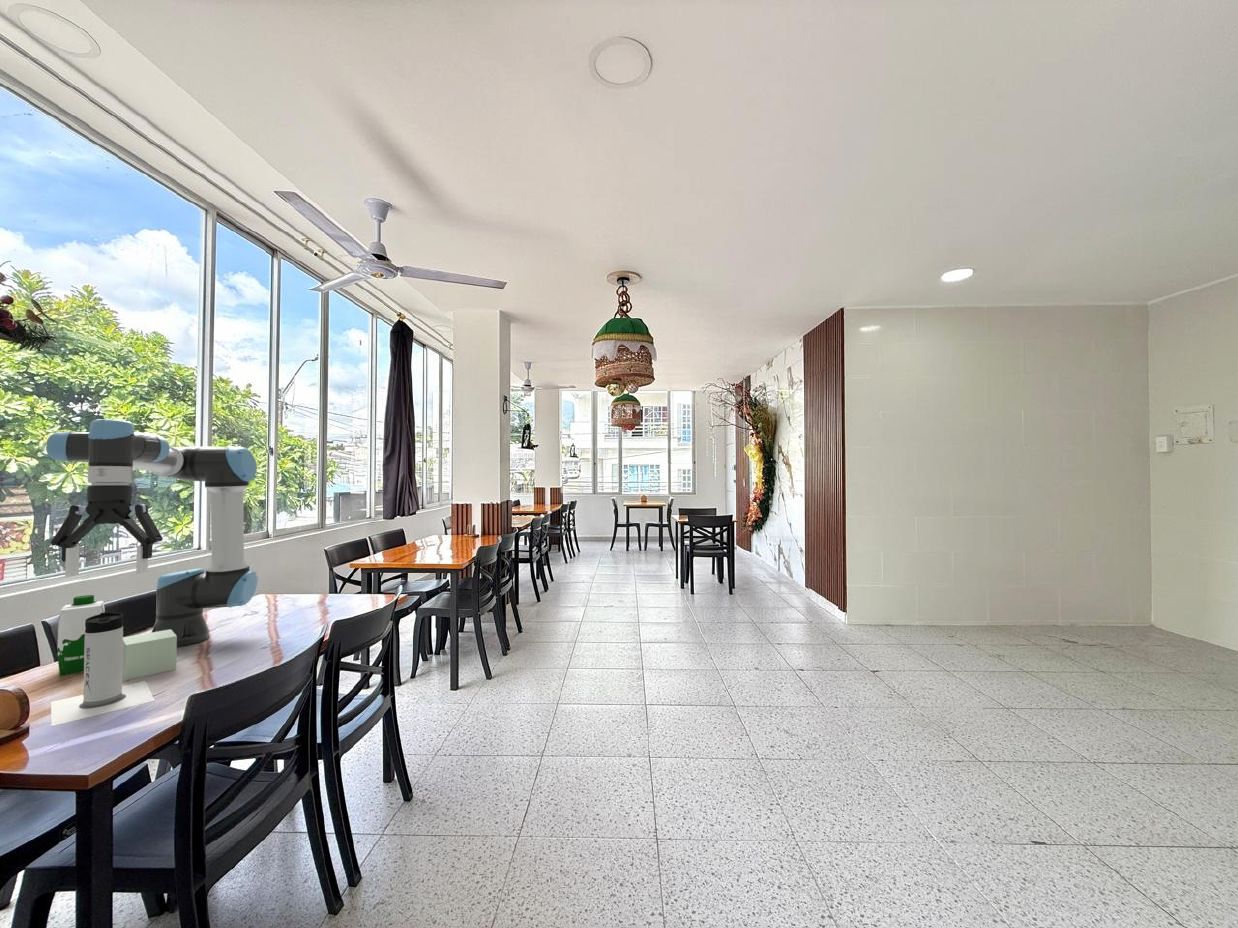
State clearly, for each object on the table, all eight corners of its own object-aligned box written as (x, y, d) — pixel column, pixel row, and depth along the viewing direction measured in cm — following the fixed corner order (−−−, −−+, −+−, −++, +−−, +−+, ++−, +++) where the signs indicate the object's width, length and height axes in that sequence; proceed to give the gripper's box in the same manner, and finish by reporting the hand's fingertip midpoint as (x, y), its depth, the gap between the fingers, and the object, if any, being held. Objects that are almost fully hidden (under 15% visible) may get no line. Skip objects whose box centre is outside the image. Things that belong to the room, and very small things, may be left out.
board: (50, 706, 116) (51, 701, 116) (145, 684, 128) (145, 680, 128) (51, 730, 104) (51, 725, 104) (154, 704, 116) (155, 699, 116)
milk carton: (104, 661, 145) (107, 592, 146) (100, 669, 138) (103, 598, 139) (60, 668, 139) (62, 597, 140) (53, 678, 133) (56, 603, 133)
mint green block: (120, 674, 135) (122, 637, 135) (169, 664, 142) (170, 629, 143) (124, 683, 128) (125, 645, 129) (175, 672, 136) (176, 635, 136)
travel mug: (122, 691, 120) (123, 609, 121) (121, 700, 116) (123, 614, 116) (84, 700, 116) (86, 614, 116) (82, 709, 111) (84, 620, 112)
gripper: (30, 485, 111) (26, 579, 110) (162, 484, 117) (160, 573, 116) (58, 484, 118) (55, 573, 118) (181, 484, 125) (179, 568, 124)
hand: (107, 574), depth 117 cm, fingers open, 13 cm apart
